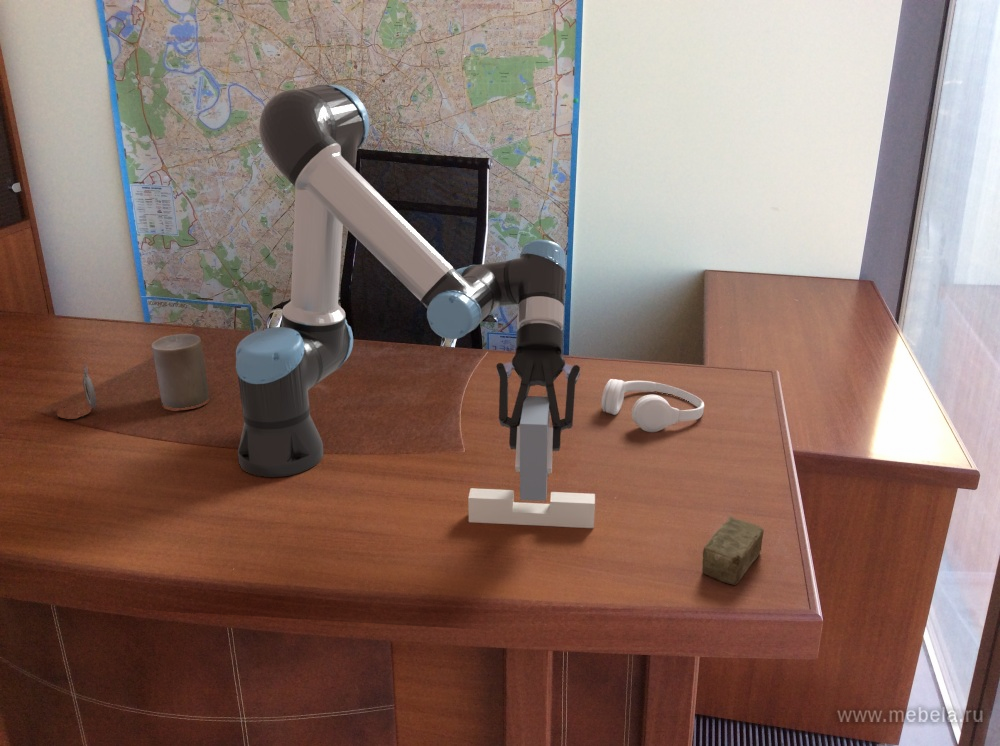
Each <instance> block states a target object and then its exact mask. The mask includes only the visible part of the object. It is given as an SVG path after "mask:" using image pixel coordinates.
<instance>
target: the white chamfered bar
mask: <svg viewBox="0 0 1000 746" xmlns="http://www.w3.org/2000/svg"><path fill="white" fill-rule="evenodd" d="M469 489H470V490H469V494H468V501H467V502H468V503H467V504H468V506H467V507H468V522H469V523H481V524H499V525H501V524H503V525H521V526H522V525H523V526H541V527H543V526H544V527H560V528H561V527H564V528H581V529H583V528H585V529H594V528H595V515H596V513H595V512H596V508H595V507H596V494H595V493H587V492H586V493H581V492H564V491H563V492H561V491H560V492H559V491H550V500H549V503H539V502H538V503H536V502H534V503H533V502H520V501H519V502H517V501H515V499H514V498H515V491H514V490H513V489H498V488H497V489H495V488H475V487H474V488H473V487H471V488H469Z"/></svg>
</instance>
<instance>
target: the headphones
mask: <svg viewBox="0 0 1000 746" xmlns="http://www.w3.org/2000/svg"><path fill="white" fill-rule="evenodd" d="M653 391H658V392H663V393H668V394H673V395H675V396H678V397H681V398H683V399H685V400H684V401H686V400H687V401H686V402H688V401H689V402H688V403H689V404H692V405H693V406H695V408H693V409H685V410H684V409H682V410H680V409H679V408H676V407H672V406H671V405H670V404H669V402H668V400H667V399H665V398H664V397H662V396H660V395H659V394H647V395H644V396H641V397H640V398H639V399H637V400H636V402H635V403H634V404H633V406H632V409H631V418H632V421H633V422H634V423H635V425H636V426H638V427H639V428H640V429H641V430H642V431H644V432H648V433H657V432H659V431H661V430H664V429H666V428H667V427H670V426H673V425H675V424H677V423H678V422H692V421H696V420H698V419H701V418H702V416H703V414H704V410H705V402H704V401H703V400H702V399H701V398H700V397H698V396H696V395H695V394H693V393H690V392H688V391H686V390H684V389H681V388H678V387H675V386H671V385H669V384H664V383H659V382H654V381H650V380H629V381H624V380H622V379H615V378H610V379H609V380H608V381H607V382H606V384H605V386H604V388H603V391H602V395H601V409H602V412H604V413H607V414H611V415H613V416H616V415H617V414H618V413H619V412H620V410H621V409H622V405H623V403H624V397H625V393H627V392H646V393H654V392H653ZM663 393H662V394H663ZM668 394H667V395H668ZM675 396H674V397H675ZM678 397H677V398H678ZM681 398H680V399H681ZM683 399H682V400H683Z"/></svg>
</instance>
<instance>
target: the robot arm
mask: <svg viewBox="0 0 1000 746" xmlns="http://www.w3.org/2000/svg"><path fill="white" fill-rule="evenodd" d="M258 128H259V129H258V130H259V137H260V141H261V143H262V146H263V149H264V151H265V153H266V155H267V157H268V158H269V159H270V160H271V162H272V164H273V166H275V167H276V169H277V170H278V171H279V172H280V173H281V175H283V177H284V178H285V179H286V180H287V181H288V182H290V183H291V185H293V186H294V188H295V191H294V192H295V193H294V216H293V217H294V218H293V222H294V223H293V241H292V244H293V245H292V265H291V266H292V267H291V268H292V269H291V286H290V287H291V289H290V290H291V291H290V294H291V296H290V301H289V302H288V303H286V304H284V306H283V308H282V309H281V326H275V327H268V328H266V327H265V328H264V329H263V330H257V331H254V332H251V333H250V334H248V335H247V336H245V337H244V338H243V339H241V341H240V342H238V345H237V347H236V349H235V360H236V361H235V371H236V374H237V381H238V387H239V394H240V401H241V408H242V417H243V428H242V432H241V436H240V441H239V445H238V448H237V449H238V450H237V456H238V463H239V464H240V465H239V467H240V466H241V467H240V468H241V470H243V469H244V470H245V471H247V472H249V473H251V474H250V475H252V474H255V475H254V476H256V475H259V476H258V477H261V476H264V477H263V478H279V477H288V476H292V475H297V474H300V473H303V472H305V471H308V470H310V469H312V468H314V467H316V465H318V464H319V463H320V462H321V460H322V459H323V457H324V445H323V440H322V438H321V435H320V433H319V431H318V429H317V426H316V425H315V423H314V420H313V418H312V416H311V412H310V400H309V399H310V398H309V390H311V389H312V388H313V387H314V386H316V385H317V384H318V383H320V382H321V381H324V379H325V378H327V377H329V376H330V375H331V374H333V373H334V372H336V371H337V370H338V369H340V368H341V367H342V365H344V364H345V363H346V361H347V359H349V357H350V355H351V353H352V350H353V346H354V336H353V331H352V327H351V326H350V325H349V324H348V321H347V319H346V312H345V310H344V308H342V307H341V305H340V304H339V293H340V280H341V279H340V277H341V263H342V262H341V259H342V245H343V231H344V228H346V229H347V231H348V232H349V233H351V235H353V237H355V238H356V239H357V241H358V242H360V243H361V245H363V246H364V247H365V248H366V249H367V250H368V251H369V253H371V254H372V255H373V256H374V257H375V259H377V260H378V261H379V262H380V263H381V264H382V265H383V266H384V267H385V268H386V269H387V270H388V271H389V272H390V273H391V274H392V275H393V276H395V278H396V279H398V281H400V283H402V284H403V286H404V287H406V288H407V289H408V291H410V292H411V293H412V294H413V296H415V297H416V298H417V299H418V300H419V301H420V303H422V305H424V307H425V308H426V309H427V311H426V319H427V321H428V324H429V326H430V328H431V330H432V331H433V332H434V333H435V334H436V335H438V336H439V337H441V338H443V339H446V340H458V339H460V338H463V337H465V336H466V335H467V334H469V333H471V332H472V331H475V330H476V329H477V327H478V326H479V325H480V323H481V322H482V321H483V320H484V319H486V318H488V316H489V315H490V314H491V313H492V312H493V311H495V310H496V309H497V308H499V307H505V306H512V305H518V306H517V321H516V324H517V325H516V327H517V331H516V340H515V342H516V343H515V353H514V356H513V358H512V360H511V361H509V362H506V363H502V362H498V363H496V372H497V376H498V377H499V378H498V379H499V401H498V403H499V404H498V421H499V424H500V426H501V427H505V428H508V429H509V441H508V443H509V447H510V450H515V460H514V461H515V462H514V464H515V465H514V468H515V472H516V473H520V421H521V414H522V408H523V402H524V400H525V398H526V396H529V392H530V391H531V390H530V389H531V387H534V386H539V387H545V391H546V392H545V393H546V397H548V400H549V408H550V419H551V424H552V426H549V427H548V446H547V473H548V474H552V473H553V453H554V452H559V451H560V450H561V437H562V436H561V434H562V431H564V430H566V429H568V430H569V429H572V427H573V423H574V409H575V406H574V405H575V394H576V393H575V392H576V384H577V382H578V380H579V378H580V375H581V373H580V372H581V367H580V366H579V365H578V364H574V365H572V364H569V363H566V360H565V358H564V357H563V346H564V333H563V330H564V317H565V315H564V314H565V288H566V286H565V285H566V274H567V270H566V255H565V250H564V248H563V247H562V246H561V245H560V244H558V243H556V242H555V241H552V240H548V239H535V240H531V241H530V242H529V243H525V244H524V245H523V246H522V248H521V251H520V254H519V258H513V259H510V260H502V261H496V262H489V263H481V264H471V265H469V266H465V267H461V268H458V269H455V268H454V267H453V266H452V265H451V264H450V262H448V261H447V260H446V259H445V258H444V257H443V255H441V254H440V253H439V252H438V251H437V250H436V249H435V247H433V246H432V245H431V244H430V243H429V242H428V241H427V240H426V238H424V237H423V236H422V235H421V234H420V233H419V232H418V231H417V230H416V229H415V228H414V227H413V226H412V225H411V224H410V223H409V222H408V221H407V220H406V219H405V218H404V217H403V216H402V215H401V214H400V213H399V212H398V211H397V210H396V209H395V208H394V207H393V206H392V205H391V204H390V203H389V202H388V200H386V199H385V198H384V197H383V196H382V195H381V194H380V193H379V192H378V191H377V190H376V189H375V188H374V187H373V186H372V185H371V184H370V183H369V182H368V181H367V180H366V179H365V178H364V177H363V176H362V175H361V174H360V173H359V172H358V171H357V170H356V167H357V166H356V165H357V154H358V153H357V151H358V150H359V149H360V148H361V147H362V146H363V144H364V143H365V142H366V140H367V138H368V135H369V131H370V118H369V114H368V111H367V109H366V107H365V105H364V103H363V102H362V101H361V99H360V98H359V97H358V95H356V93H355V92H353V91H352V90H350V89H348V88H347V87H345V86H341V85H337V84H323V83H321V84H317V85H313V86H309V87H304V88H298V89H287V90H284V91H282V92H279V93H277V94H276V95H274V96H273V97H271V99H269V100H268V102H267V103H266V105H265V106H264V108H263V110H262V112H261V115H260V118H259V127H258ZM513 370H514V371H515V372H516V374H517V375H518V377H519V378H520V385H519V389H518V392H517V397H516V400H515V402H514V407H513V411H512V414H511V417H509V416H508V415H509V413H508V411H509V378H510V377H512V372H513ZM562 372H564V376H565V377H564V378H565V379H566V380H567V383H566V397H565V398H566V399H565V413H564V418H562V419H561V417H560V411H559V407H558V400H557V395H556V391H555V389H556V388H555V383H554V382H555V380H557V378H558V377H559V376H560V375H561V373H562ZM244 470H243V471H244ZM245 471H244V472H245ZM247 472H246V473H247ZM249 473H248V474H249Z"/></svg>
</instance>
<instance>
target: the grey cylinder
mask: <svg viewBox="0 0 1000 746" xmlns="http://www.w3.org/2000/svg"><path fill="white" fill-rule="evenodd" d="M150 346H151V350H152V354H153V355H152V356H153V360H154V367H155V371H156V377H157V383H158V388H159V389H158V390H159V395H160V400H161V404H162V403H163V405H165V406H168V407H172V408H185V407H191V406H196V405H199V404H201V403H203V402H205V401H206V400H207V399H208V398H209V395H210V393H209V384H208V382H209V381H208V378H207V377H208V376H207V372H206V363H205V359H204V352H203V344H202V339H201V337H200V336H198V335H196V334H194V333H193V334H191V333H178V334H171V335H166V336H162V337H159V338H158V339H156V340H155V341H153V342H152V343H151V345H150ZM163 405H162V406H163Z"/></svg>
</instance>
